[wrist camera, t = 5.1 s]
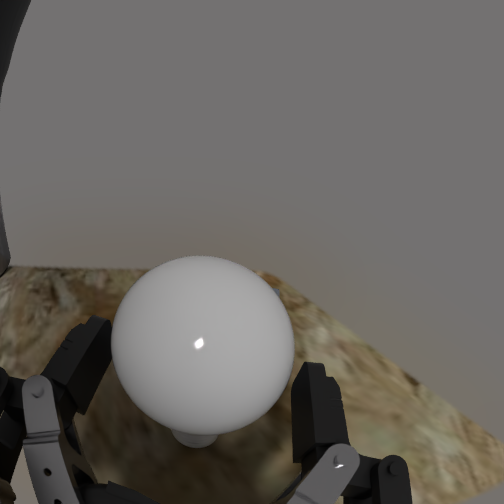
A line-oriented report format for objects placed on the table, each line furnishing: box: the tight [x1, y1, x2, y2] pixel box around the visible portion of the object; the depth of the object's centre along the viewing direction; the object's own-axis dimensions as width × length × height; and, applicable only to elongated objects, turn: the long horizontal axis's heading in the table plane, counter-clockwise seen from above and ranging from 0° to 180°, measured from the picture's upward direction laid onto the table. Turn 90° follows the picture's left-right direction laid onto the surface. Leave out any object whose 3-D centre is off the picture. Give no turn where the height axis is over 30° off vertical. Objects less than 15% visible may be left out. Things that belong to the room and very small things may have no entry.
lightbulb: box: [111, 256, 295, 448], centre depth 10 cm, size 6×6×11 cm
